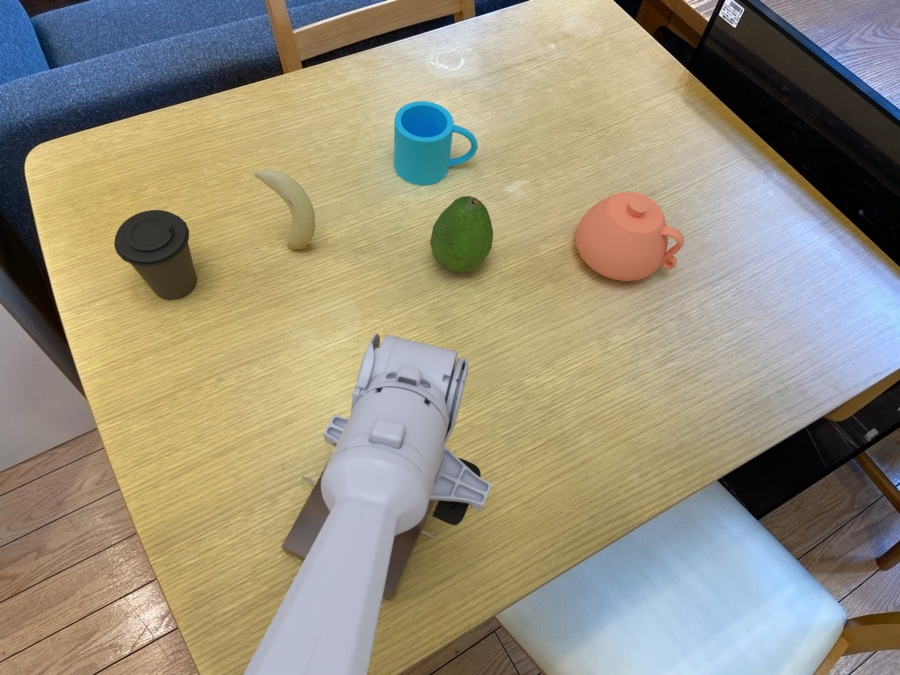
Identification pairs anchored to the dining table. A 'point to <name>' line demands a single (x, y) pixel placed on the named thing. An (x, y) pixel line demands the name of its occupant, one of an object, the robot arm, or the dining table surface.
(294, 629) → the robot arm
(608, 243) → the sugar bowl
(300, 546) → the brown pegged board
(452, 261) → the fruit
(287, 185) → the fruit
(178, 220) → the coffee cup
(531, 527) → the dining table surface
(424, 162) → the mug
